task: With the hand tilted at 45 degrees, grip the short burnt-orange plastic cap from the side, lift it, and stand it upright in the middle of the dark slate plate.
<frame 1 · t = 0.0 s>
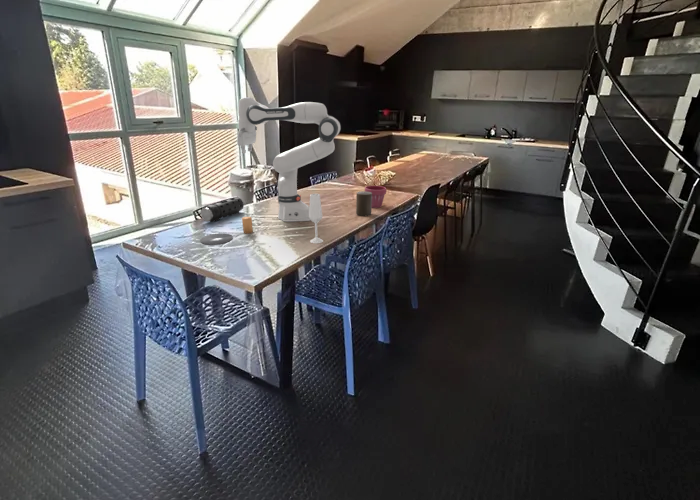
hand: (246, 152, 221), 39 cm above the table, tool pointing down, fingers open, 8 cm apart
champagne flute: (316, 241, 193), on the table
pillar candle: (363, 214, 239), on the table
slate plate: (216, 239, 196), on the table
plant pot: (375, 206, 257), on the table
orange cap: (248, 232, 206), on the table
muzzle brake: (223, 218, 232), on the table
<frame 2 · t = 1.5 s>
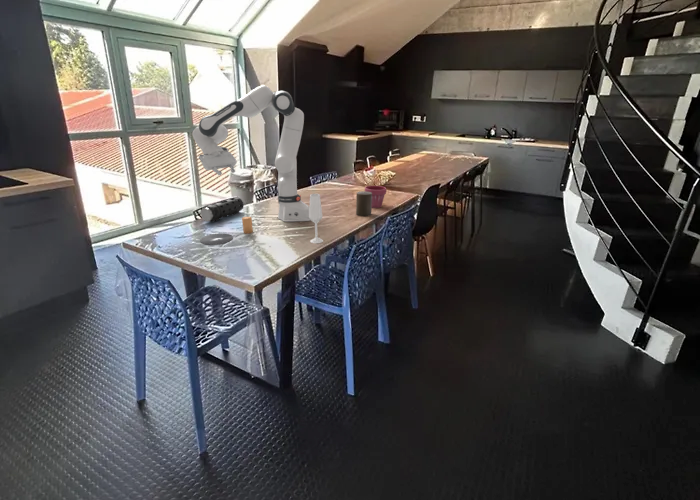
hand: (227, 173, 206), 30 cm above the table, tool tilted 45°, fingers open, 8 cm apart
nothing on the table moved.
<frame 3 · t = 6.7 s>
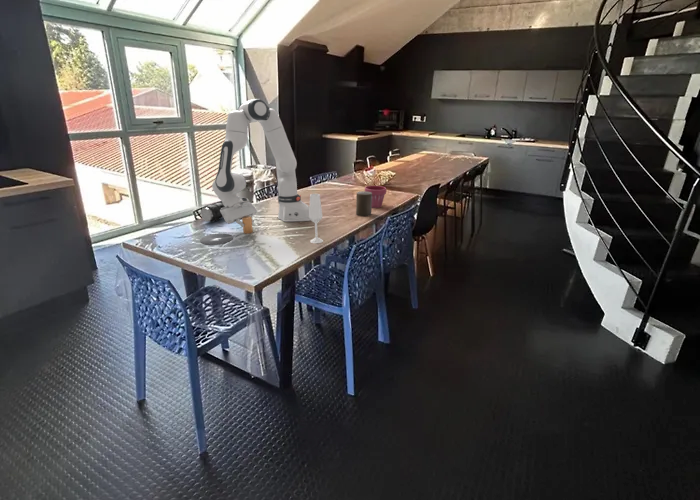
hand: (248, 224, 205), 4 cm above the table, tool tilted 45°, fingers closed on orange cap, 5 cm apart
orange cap: (248, 232, 206), on the table, touching gripper
everything else where it was.
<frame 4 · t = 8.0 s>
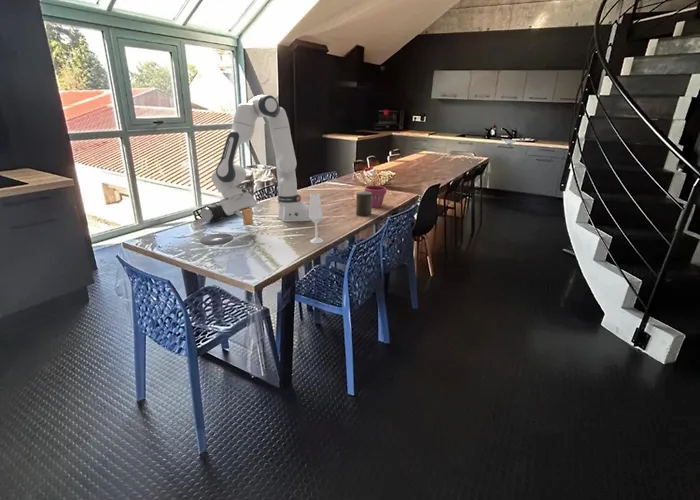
hand: (248, 216, 203), 9 cm above the table, tool tilted 45°, fingers closed on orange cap, 5 cm apart
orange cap: (248, 223, 205), point 5 cm above the table, touching gripper
everything else where it was.
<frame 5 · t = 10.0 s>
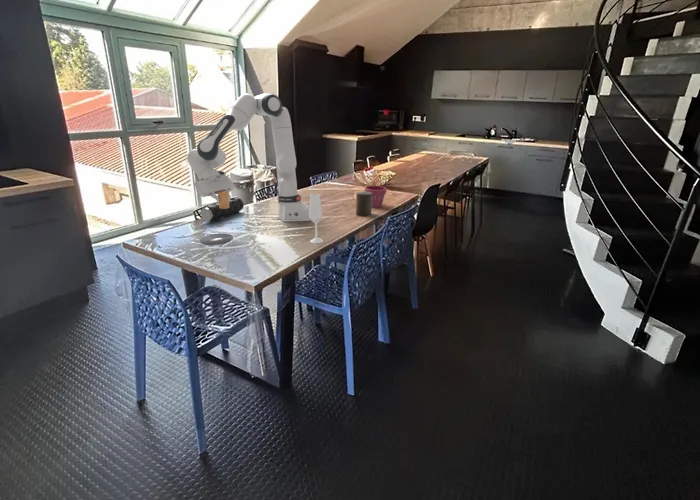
hand: (224, 199, 192), 20 cm above the table, tool tilted 45°, fingers closed on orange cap, 5 cm apart
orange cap: (224, 207, 194), point 16 cm above the table, touching gripper
everything else where it was.
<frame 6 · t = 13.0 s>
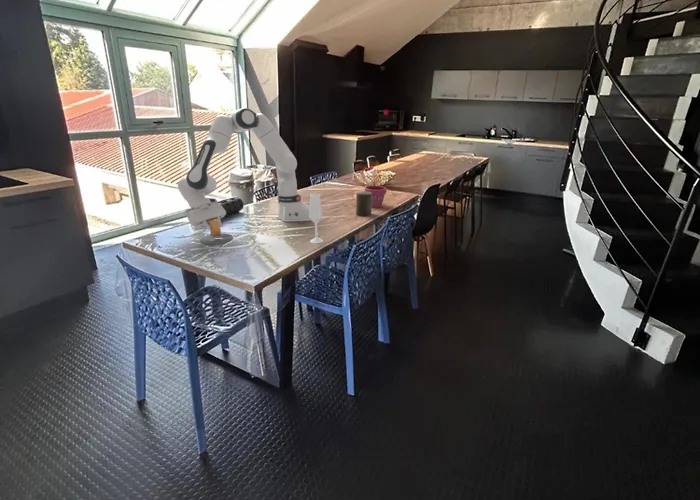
hand: (215, 227, 193), 7 cm above the table, tool tilted 45°, fingers closed on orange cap, 5 cm apart
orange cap: (216, 234, 195), point 2 cm above the table, touching gripper
everything else where it was.
when the fingers open (6 cm above the table, at t = 13.5 s): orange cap drops 1 cm, resting on slate plate.
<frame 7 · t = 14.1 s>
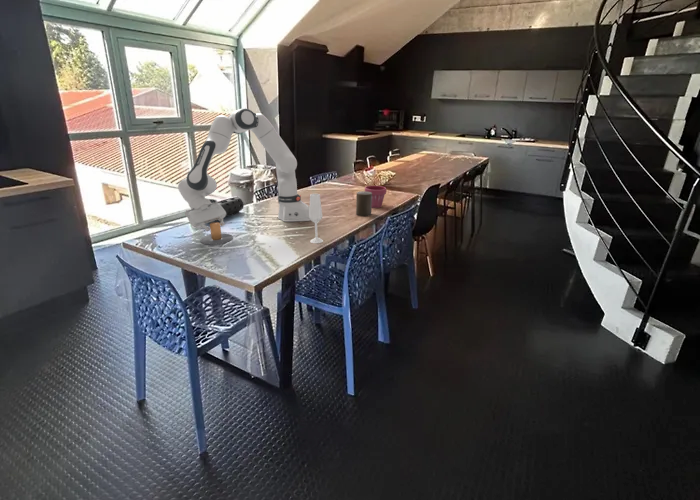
hand: (216, 227, 193), 6 cm above the table, tool tilted 45°, fingers open, 8 cm apart
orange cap: (216, 238, 196), resting on slate plate
everything else where it was.
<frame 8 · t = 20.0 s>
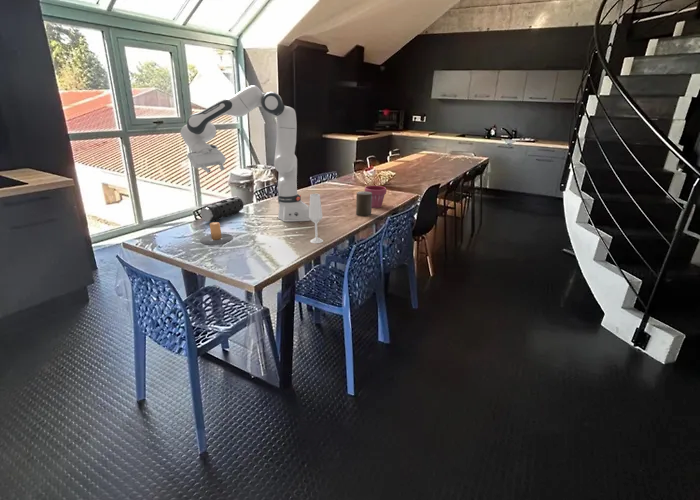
hand: (216, 170, 206), 31 cm above the table, tool tilted 45°, fingers open, 8 cm apart
nothing on the table moved.
at the end: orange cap inside the target area on the slate plate (0.0 cm from its centre), point 0.5 cm above the slate plate's base; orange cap tilted 0°; the gripper is holding nothing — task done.
